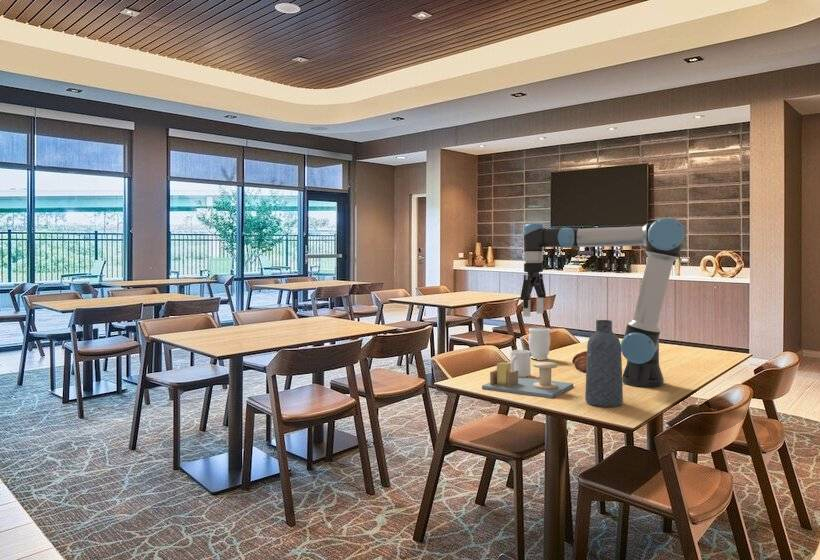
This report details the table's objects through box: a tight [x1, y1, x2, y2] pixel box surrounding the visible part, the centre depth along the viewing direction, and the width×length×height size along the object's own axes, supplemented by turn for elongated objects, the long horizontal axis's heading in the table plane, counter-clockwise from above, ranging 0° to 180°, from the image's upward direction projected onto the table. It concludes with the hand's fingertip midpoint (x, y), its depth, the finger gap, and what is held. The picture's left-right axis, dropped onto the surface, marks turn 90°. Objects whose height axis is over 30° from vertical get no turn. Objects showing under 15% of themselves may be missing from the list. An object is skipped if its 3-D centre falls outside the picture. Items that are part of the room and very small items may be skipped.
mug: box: [509, 349, 531, 378], centre depth 243 cm, size 12×8×10 cm
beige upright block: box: [496, 361, 511, 385], centre depth 223 cm, size 4×4×8 cm
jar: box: [528, 327, 551, 360], centre depth 283 cm, size 11×10×15 cm
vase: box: [584, 319, 624, 408], centre depth 197 cm, size 12×12×28 cm
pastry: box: [572, 350, 587, 374], centre depth 258 cm, size 17×15×8 cm
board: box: [481, 361, 574, 399], centre depth 222 cm, size 28×22×10 cm
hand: (533, 315), depth 233 cm, fingers open, 13 cm apart
